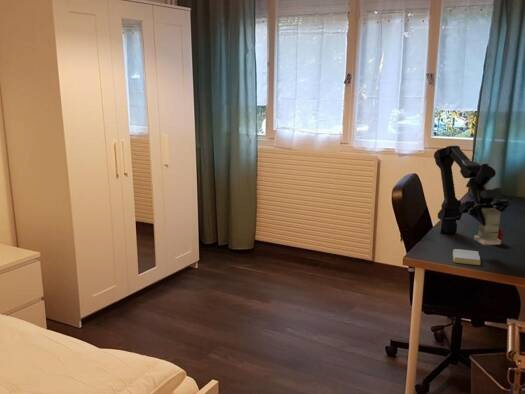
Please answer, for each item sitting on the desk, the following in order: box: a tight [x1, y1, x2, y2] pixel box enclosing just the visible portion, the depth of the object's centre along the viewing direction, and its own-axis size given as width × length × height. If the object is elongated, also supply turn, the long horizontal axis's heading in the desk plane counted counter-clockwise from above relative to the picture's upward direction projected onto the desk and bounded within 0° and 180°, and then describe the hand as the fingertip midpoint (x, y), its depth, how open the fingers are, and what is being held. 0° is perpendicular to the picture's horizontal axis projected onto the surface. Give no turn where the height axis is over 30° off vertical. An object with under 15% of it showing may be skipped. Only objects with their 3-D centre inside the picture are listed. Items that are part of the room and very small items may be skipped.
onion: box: [497, 227, 505, 241], centre depth 209 cm, size 6×6×8 cm
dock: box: [452, 248, 481, 266], centre depth 191 cm, size 9×10×2 cm
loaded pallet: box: [473, 208, 502, 246], centre depth 191 cm, size 7×7×13 cm
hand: (491, 225), depth 189 cm, fingers closed on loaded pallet, 5 cm apart
